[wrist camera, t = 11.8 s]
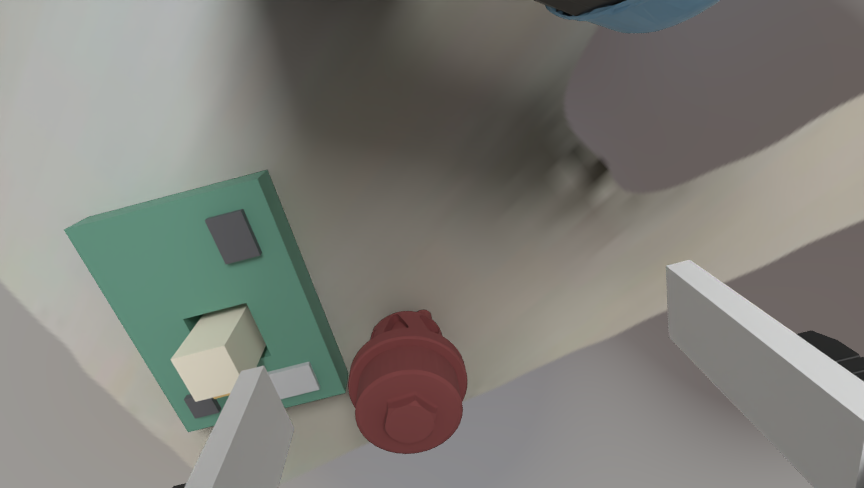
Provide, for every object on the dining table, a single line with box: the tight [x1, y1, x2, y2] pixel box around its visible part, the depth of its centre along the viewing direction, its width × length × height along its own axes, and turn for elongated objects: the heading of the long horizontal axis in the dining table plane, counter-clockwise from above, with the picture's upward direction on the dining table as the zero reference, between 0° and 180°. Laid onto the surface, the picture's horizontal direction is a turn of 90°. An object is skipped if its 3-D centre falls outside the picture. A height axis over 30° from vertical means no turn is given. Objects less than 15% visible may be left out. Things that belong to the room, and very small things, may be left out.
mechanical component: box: [348, 310, 467, 454], centre depth 40 cm, size 12×10×10 cm
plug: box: [170, 303, 266, 402], centre depth 40 cm, size 5×4×8 cm
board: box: [64, 170, 348, 432], centre depth 41 cm, size 22×16×4 cm
